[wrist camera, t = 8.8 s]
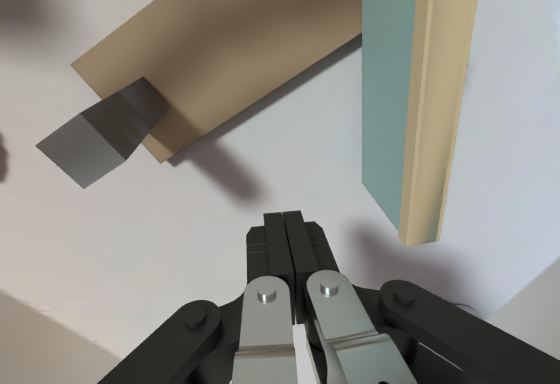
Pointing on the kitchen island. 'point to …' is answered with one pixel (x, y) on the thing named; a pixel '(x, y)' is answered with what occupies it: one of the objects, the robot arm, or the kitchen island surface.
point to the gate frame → (190, 74)
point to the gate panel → (412, 106)
